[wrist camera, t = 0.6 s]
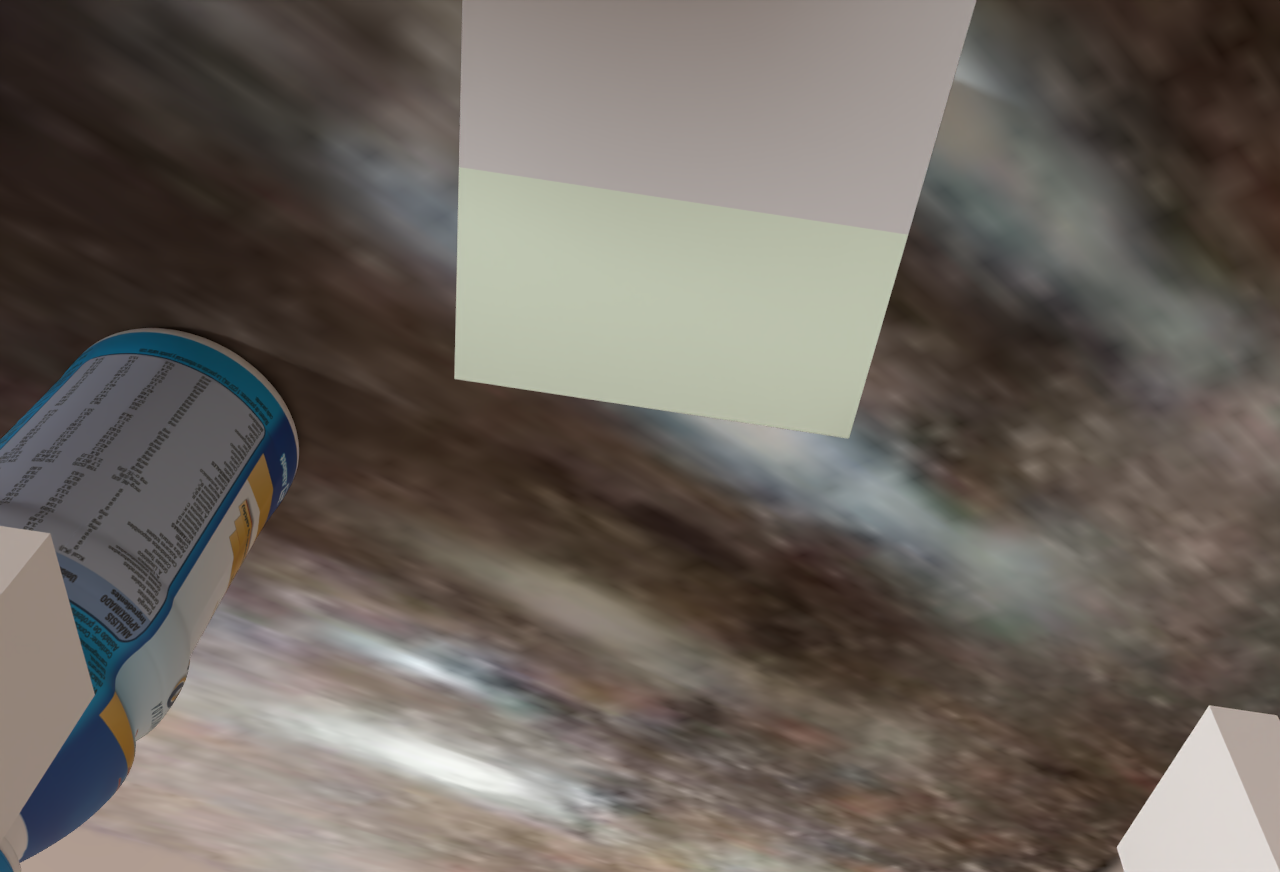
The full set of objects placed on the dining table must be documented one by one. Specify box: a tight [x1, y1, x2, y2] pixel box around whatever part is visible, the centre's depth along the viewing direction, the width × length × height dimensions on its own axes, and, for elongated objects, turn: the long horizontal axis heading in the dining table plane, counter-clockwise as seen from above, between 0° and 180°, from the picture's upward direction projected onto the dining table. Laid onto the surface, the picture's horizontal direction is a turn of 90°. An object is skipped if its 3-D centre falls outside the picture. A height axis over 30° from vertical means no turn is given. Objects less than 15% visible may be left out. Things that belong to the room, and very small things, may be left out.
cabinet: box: [454, 0, 976, 439], centre depth 24 cm, size 8×11×12 cm
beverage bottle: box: [0, 328, 299, 872], centre depth 30 cm, size 8×8×20 cm
